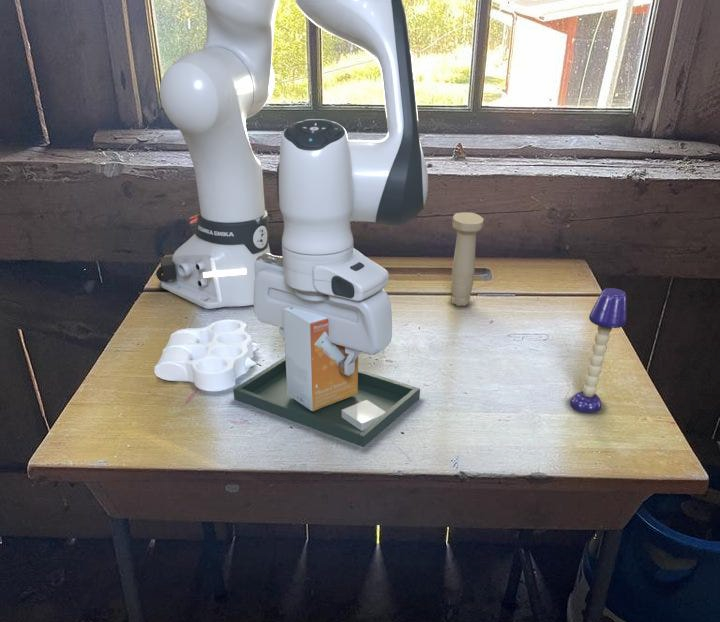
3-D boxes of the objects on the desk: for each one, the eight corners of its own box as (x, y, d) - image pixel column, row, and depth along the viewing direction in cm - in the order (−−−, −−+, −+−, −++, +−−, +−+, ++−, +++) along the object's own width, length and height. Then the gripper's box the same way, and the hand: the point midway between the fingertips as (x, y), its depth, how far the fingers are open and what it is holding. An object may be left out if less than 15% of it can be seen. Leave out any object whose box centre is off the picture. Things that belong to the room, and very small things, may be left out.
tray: (234, 402, 102) (232, 389, 100) (297, 361, 112) (296, 349, 110) (363, 450, 92) (363, 436, 91) (419, 401, 102) (420, 388, 101)
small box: (312, 413, 98) (309, 323, 90) (286, 395, 102) (281, 307, 94) (359, 395, 102) (360, 307, 94) (332, 378, 106) (330, 292, 98)
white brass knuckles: (177, 337, 118) (267, 338, 118) (150, 393, 104) (253, 394, 103) (174, 318, 116) (265, 319, 116) (146, 372, 102) (251, 373, 101)
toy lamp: (577, 393, 104) (601, 281, 94) (609, 402, 102) (637, 289, 92) (565, 407, 101) (589, 293, 91) (598, 417, 99) (626, 302, 89)
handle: (450, 310, 127) (457, 224, 118) (443, 296, 132) (450, 212, 123) (477, 310, 128) (486, 223, 119) (469, 295, 133) (478, 212, 124)
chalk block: (341, 417, 98) (341, 409, 97) (366, 406, 100) (366, 399, 99) (361, 431, 95) (361, 423, 94) (387, 420, 97) (387, 412, 96)
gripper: (238, 257, 93) (247, 354, 101) (372, 291, 84) (371, 395, 93) (269, 243, 97) (275, 337, 106) (400, 274, 88) (396, 375, 97)
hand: (321, 364), depth 99 cm, fingers closed on small box, 7 cm apart
